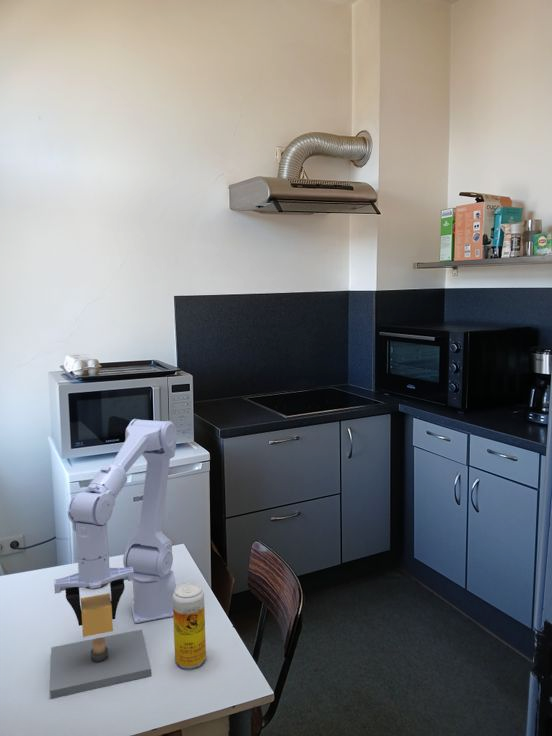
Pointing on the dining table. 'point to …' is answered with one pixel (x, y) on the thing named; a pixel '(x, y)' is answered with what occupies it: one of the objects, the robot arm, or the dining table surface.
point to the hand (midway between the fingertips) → (96, 619)
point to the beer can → (189, 625)
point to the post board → (98, 663)
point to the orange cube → (96, 614)
